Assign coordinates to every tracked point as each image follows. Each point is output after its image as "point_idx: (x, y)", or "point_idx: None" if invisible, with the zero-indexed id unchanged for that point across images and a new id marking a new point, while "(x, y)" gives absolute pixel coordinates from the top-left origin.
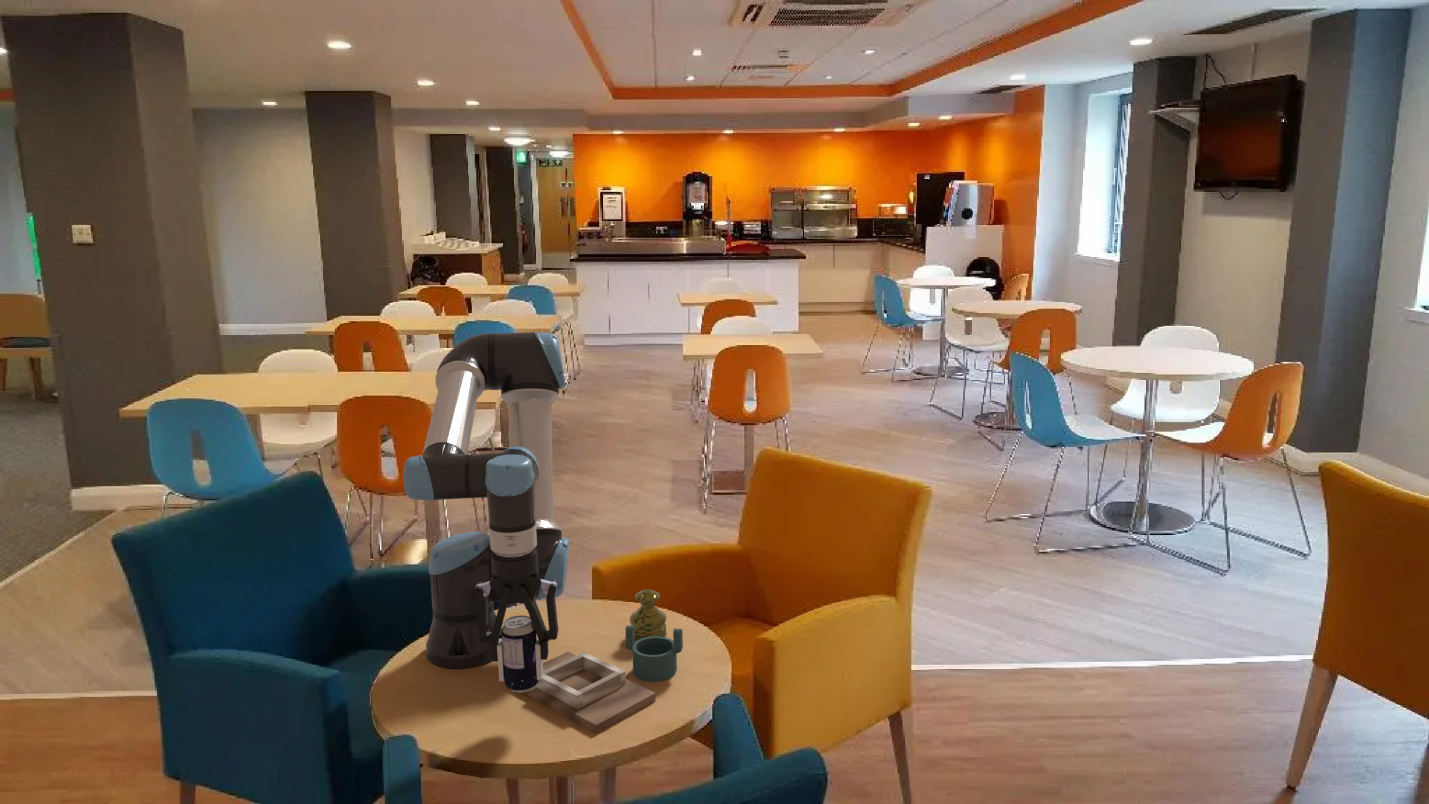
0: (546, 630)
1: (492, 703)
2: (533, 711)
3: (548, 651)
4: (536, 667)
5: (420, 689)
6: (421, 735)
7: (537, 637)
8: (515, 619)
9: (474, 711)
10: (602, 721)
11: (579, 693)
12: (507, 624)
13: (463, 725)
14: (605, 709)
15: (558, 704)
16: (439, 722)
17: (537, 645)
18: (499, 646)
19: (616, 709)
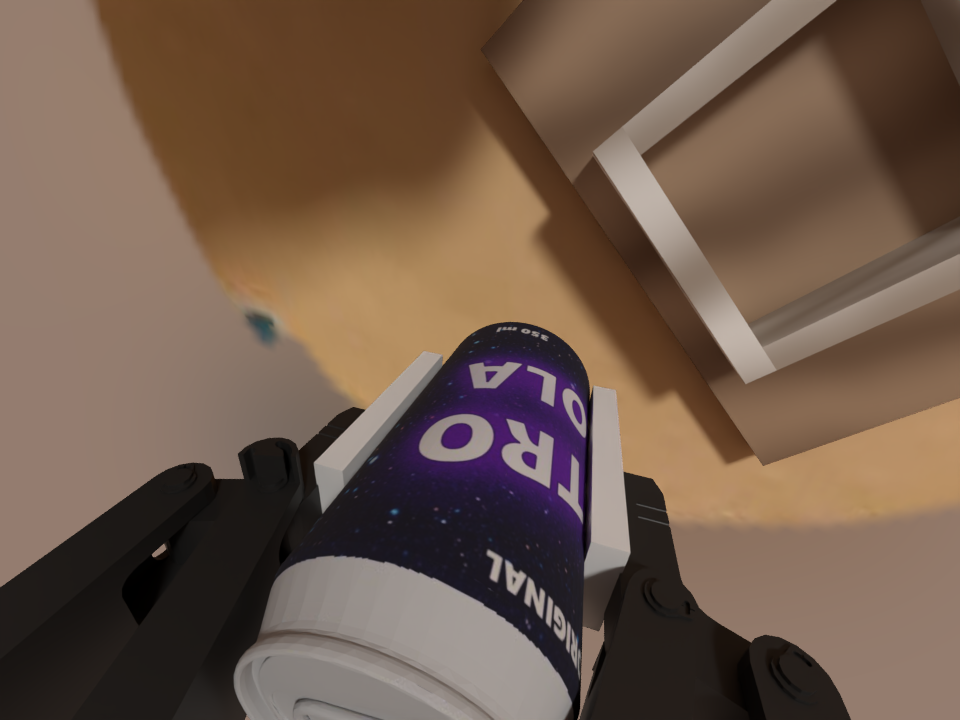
0: (693, 656)
1: (439, 194)
2: (571, 277)
3: (664, 501)
4: None
5: (199, 45)
6: (294, 327)
7: (595, 544)
8: (334, 686)
9: (392, 236)
10: (792, 452)
11: (762, 367)
12: (285, 705)
13: (377, 307)
14: (837, 389)
15: (662, 313)
16: (316, 277)
17: (583, 620)
18: None
19: (884, 400)
